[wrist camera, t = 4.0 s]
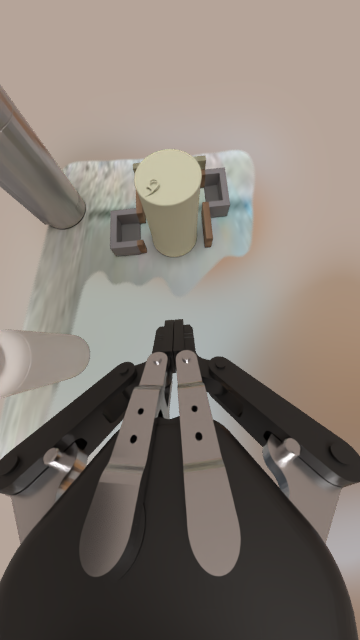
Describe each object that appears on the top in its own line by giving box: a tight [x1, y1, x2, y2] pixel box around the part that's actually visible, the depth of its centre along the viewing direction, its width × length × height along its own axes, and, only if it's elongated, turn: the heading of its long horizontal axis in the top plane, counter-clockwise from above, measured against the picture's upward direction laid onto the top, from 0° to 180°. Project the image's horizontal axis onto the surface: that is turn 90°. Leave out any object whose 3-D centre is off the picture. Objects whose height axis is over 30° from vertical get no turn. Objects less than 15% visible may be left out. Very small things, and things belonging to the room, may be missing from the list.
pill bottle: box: [0, 330, 90, 398], centre depth 21 cm, size 8×8×15 cm
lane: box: [133, 156, 213, 253], centre depth 30 cm, size 14×17×4 cm
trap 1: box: [204, 168, 230, 217], centre depth 31 cm, size 4×9×2 cm, turn 4°
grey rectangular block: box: [134, 149, 202, 257], centre depth 26 cm, size 9×9×12 cm
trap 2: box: [110, 208, 141, 256], centre depth 31 cm, size 5×8×2 cm, turn 4°
